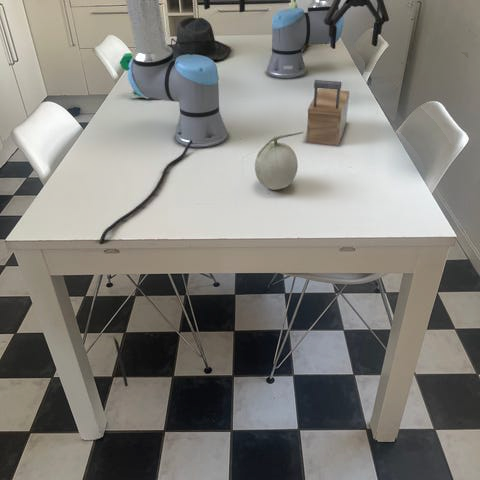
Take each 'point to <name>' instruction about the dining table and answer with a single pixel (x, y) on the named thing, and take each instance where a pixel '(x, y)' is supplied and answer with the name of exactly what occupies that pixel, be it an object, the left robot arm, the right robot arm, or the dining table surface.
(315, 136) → the chest
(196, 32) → the hat
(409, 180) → the dining table surface
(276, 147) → the fruit
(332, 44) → the right robot arm
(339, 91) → the lid
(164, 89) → the left robot arm
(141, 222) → the dining table surface
